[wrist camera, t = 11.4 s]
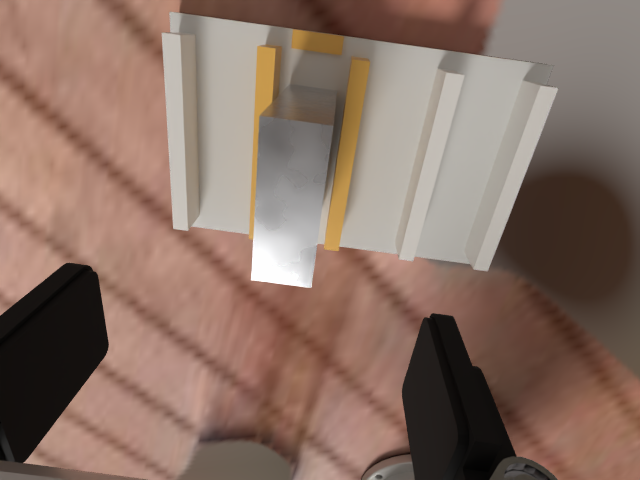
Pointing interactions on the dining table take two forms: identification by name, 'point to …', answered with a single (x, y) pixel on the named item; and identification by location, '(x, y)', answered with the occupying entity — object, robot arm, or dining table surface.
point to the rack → (356, 134)
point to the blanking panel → (291, 183)
